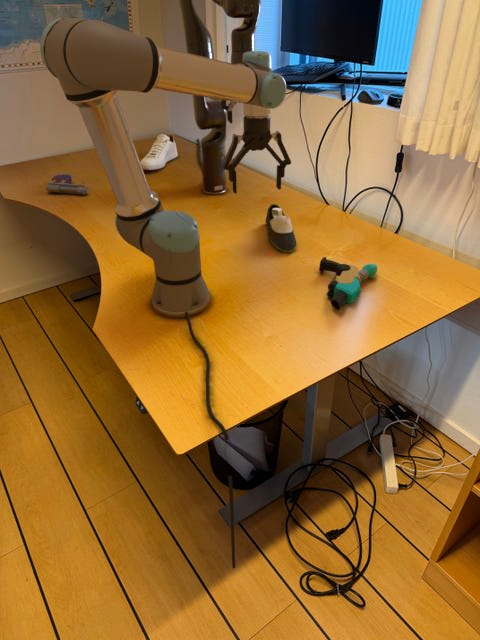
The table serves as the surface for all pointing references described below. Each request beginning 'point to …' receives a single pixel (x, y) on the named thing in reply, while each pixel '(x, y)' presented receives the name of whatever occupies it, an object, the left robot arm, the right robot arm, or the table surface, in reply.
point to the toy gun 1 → (65, 185)
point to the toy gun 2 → (345, 281)
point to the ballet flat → (280, 229)
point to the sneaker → (160, 153)
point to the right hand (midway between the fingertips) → (243, 122)
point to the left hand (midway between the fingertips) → (256, 189)
